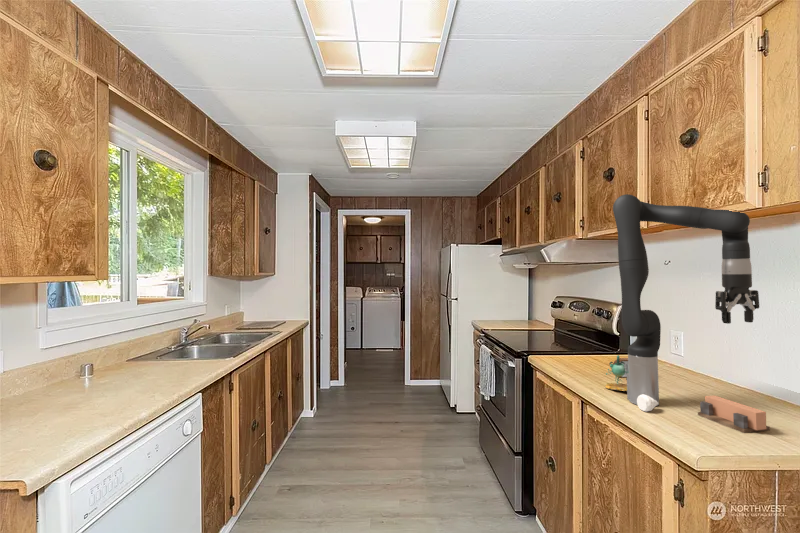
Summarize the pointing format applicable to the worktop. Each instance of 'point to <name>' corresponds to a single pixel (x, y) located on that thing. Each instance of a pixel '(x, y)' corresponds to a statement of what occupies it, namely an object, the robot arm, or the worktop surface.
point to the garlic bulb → (646, 403)
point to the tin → (624, 365)
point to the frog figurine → (617, 371)
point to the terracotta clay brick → (737, 411)
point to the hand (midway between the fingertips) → (737, 322)
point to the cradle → (739, 419)
